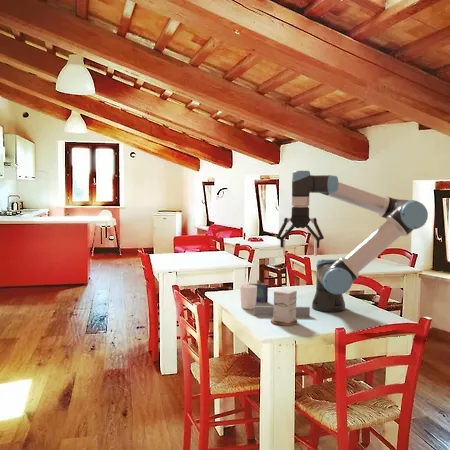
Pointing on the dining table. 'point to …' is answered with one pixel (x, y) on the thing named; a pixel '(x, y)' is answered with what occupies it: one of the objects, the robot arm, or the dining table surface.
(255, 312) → the low wall
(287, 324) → the coaster
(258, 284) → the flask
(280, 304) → the supplement box
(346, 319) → the dining table surface
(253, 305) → the white cup
